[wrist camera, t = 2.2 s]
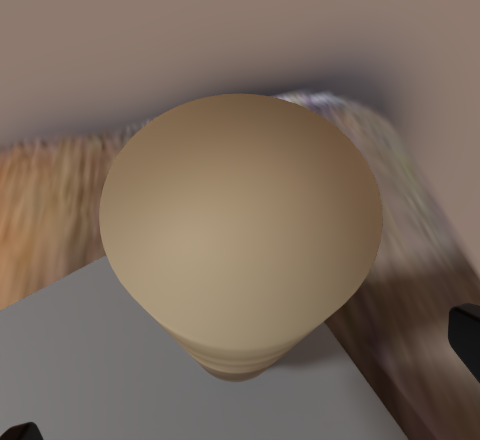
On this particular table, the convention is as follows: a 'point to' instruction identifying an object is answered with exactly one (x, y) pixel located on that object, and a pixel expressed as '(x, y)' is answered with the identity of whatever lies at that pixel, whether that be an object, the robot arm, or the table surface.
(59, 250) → the table surface
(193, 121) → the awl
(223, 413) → the floor panel
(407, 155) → the table surface
